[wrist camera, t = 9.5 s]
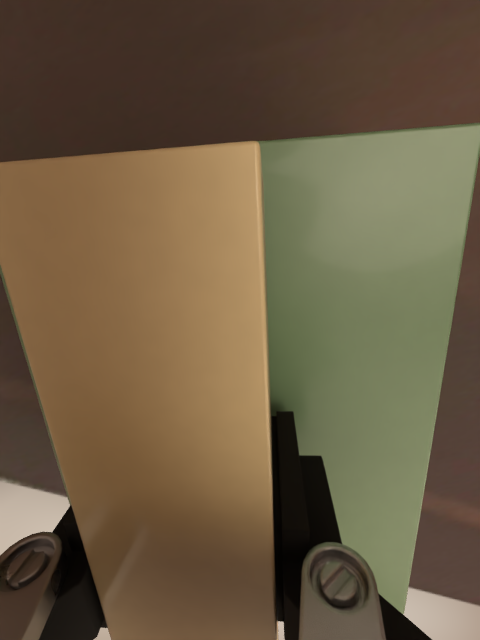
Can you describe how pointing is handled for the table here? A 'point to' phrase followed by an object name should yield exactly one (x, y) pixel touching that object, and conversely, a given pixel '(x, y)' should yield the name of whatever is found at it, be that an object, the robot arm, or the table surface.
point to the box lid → (364, 316)
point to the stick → (154, 375)
